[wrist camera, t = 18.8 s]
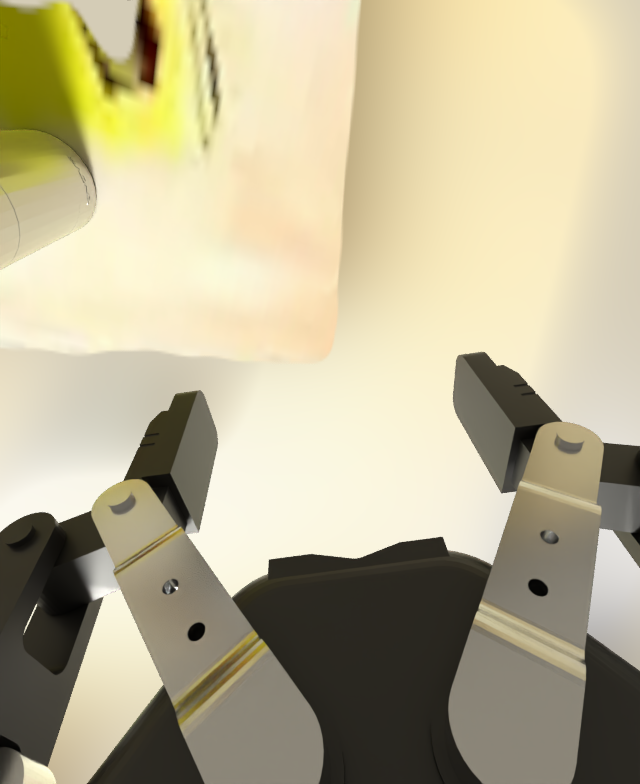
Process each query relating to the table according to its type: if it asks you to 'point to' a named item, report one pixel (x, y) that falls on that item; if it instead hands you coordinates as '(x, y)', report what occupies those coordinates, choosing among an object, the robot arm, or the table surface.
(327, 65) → the table surface
